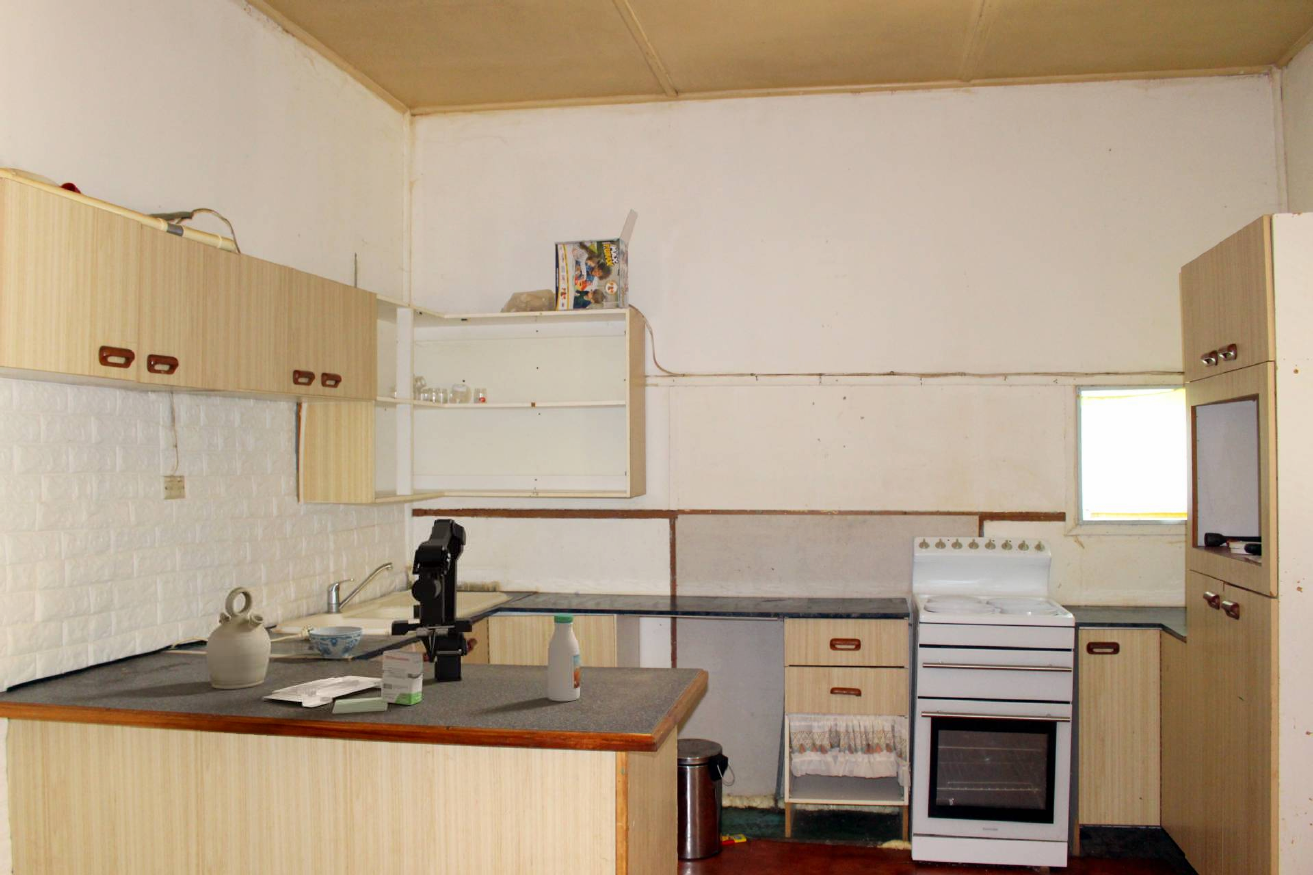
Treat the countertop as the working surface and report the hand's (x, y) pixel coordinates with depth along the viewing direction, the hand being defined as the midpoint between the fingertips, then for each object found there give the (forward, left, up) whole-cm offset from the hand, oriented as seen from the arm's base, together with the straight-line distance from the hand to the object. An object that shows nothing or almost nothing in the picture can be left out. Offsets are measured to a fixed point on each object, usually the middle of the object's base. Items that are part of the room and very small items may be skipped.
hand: (431, 662), depth 236 cm
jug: (+48, -32, -9) cm, 58 cm away
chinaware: (+27, -65, -9) cm, 71 cm away
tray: (+25, -16, -9) cm, 31 cm away
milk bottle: (-31, +6, -9) cm, 33 cm away
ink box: (+7, 0, -9) cm, 12 cm away
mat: (+16, +1, -9) cm, 18 cm away
